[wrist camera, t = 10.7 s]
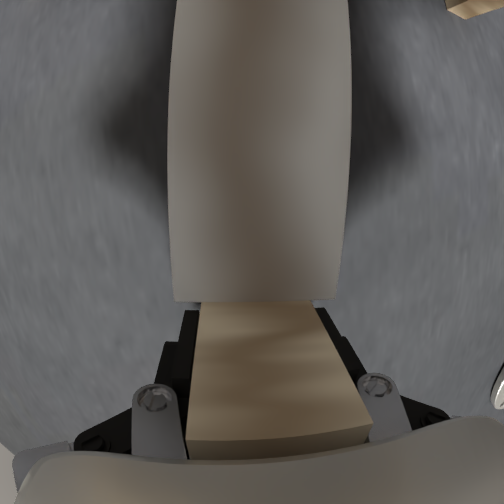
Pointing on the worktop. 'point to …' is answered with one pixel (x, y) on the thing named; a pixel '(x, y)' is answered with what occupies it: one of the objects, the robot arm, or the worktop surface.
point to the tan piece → (262, 222)
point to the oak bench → (472, 7)
